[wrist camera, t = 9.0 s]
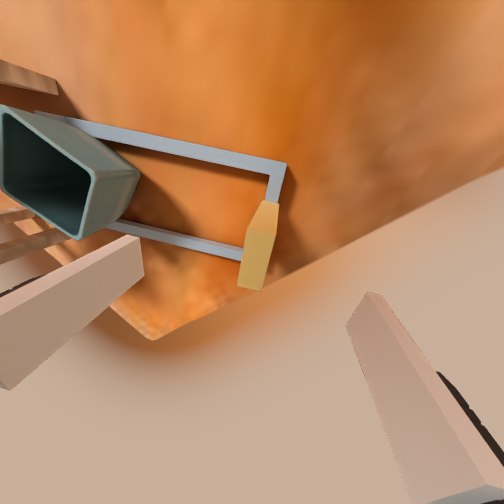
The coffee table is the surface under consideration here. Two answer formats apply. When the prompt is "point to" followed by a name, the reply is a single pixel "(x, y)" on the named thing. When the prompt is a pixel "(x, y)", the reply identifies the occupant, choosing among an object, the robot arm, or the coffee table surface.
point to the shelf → (23, 246)
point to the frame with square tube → (266, 215)
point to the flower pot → (62, 173)
